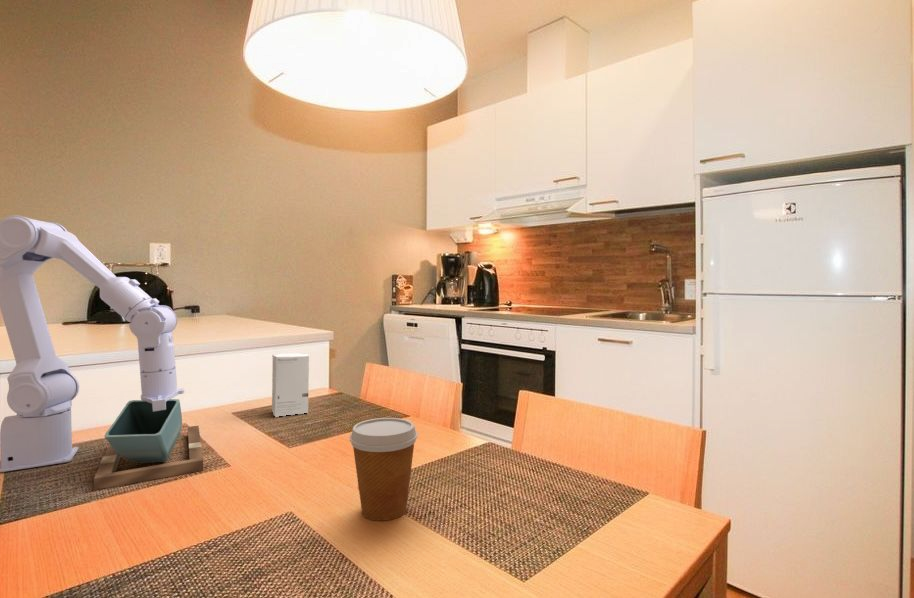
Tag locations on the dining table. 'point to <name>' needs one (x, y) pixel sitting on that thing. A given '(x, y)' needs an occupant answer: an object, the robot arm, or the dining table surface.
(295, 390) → the skincare box
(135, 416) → the flower pot
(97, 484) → the wooden frame
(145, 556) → the dining table surface
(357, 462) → the disposable coffee cup
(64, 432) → the robot arm
